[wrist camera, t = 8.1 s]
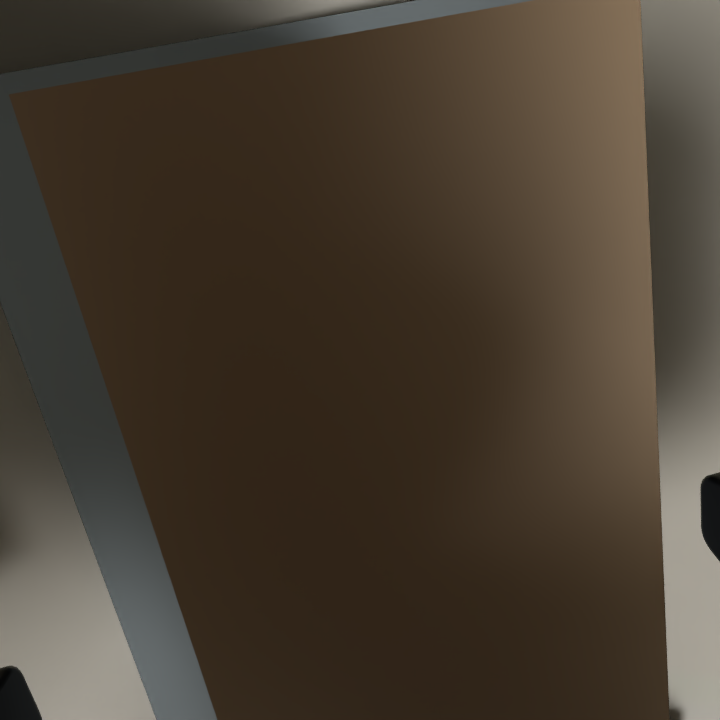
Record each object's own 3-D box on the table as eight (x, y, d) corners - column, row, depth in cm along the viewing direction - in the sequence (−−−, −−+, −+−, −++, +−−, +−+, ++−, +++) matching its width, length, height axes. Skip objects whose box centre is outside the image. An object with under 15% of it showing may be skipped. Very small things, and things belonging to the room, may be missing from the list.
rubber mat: (534, -17, 9) (547, -23, 9) (600, 737, 14) (610, 754, 13) (-66, 91, 8) (-81, 88, 8) (216, 857, 13) (216, 878, 13)
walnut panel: (383, 89, 9) (640, -20, 3) (489, 751, 13) (689, 1225, 7) (157, 131, 9) (8, 92, 3) (337, 799, 12) (422, 1334, 7)
